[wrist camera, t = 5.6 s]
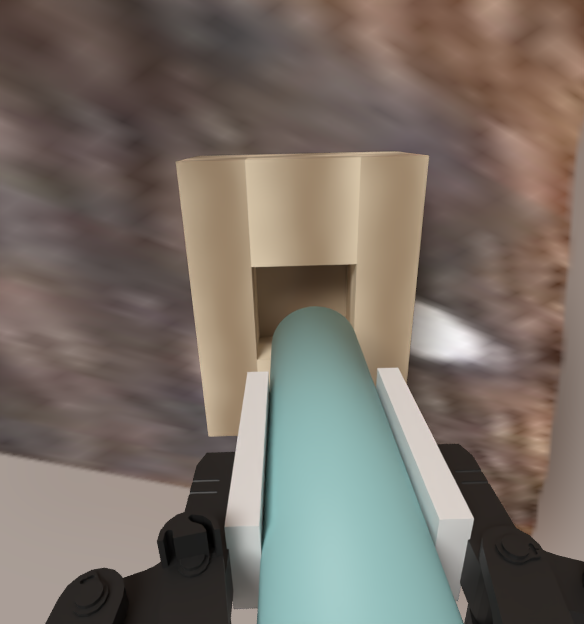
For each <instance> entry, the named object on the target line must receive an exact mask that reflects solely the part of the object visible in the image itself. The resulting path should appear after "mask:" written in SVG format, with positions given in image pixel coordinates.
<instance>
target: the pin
mask: <svg viewBox="0 0 584 624" xmlns="http://www.w3.org/2000/svg"><path fill="white" fill-rule="evenodd" d="M269 393H270V394H269V414H268V434H267V454H266V473H265V493H264V513H263V533H262V553H261V560H260V576H259V595H258V614H257V624H464V623H463V620H462V618H461V615H460V612H459V610H458V607H457V604H456V602H455V599H454V596H453V594H452V591H451V588H450V586H449V583H448V580H447V578H446V575H445V572H444V570H443V567H442V564H441V561H440V559H439V556H438V553H437V551H436V548H435V545H434V543H433V540H432V537H431V535H430V532H429V529H428V527H427V524H426V521H425V519H424V516H423V513H422V511H421V508H420V505H419V503H418V500H417V497H416V494H415V492H414V489H413V486H412V484H411V481H410V478H409V476H408V473H407V470H406V468H405V465H404V462H403V460H402V457H401V454H400V452H399V449H398V446H397V444H396V441H395V438H394V436H393V433H392V430H391V428H390V425H389V422H388V419H387V417H386V414H385V411H384V409H383V406H382V403H381V401H380V398H379V395H378V393H377V390H376V387H375V385H374V382H373V379H372V377H371V374H370V371H369V369H368V366H367V363H366V361H365V358H364V355H363V352H362V350H361V347H360V344H359V342H358V339H357V336H356V334H355V331H354V329H353V327H352V325H351V324H350V322H349V321H348V320H347V319H346V318H345V317H344V316H343V315H341V314H340V313H338V312H337V311H334V310H332V309H329V308H326V307H318V306H313V307H306V308H302V309H299V310H296V311H294V312H292V313H291V314H289V315H288V316H286V317H285V318H284V319H283V320H282V321H281V322H280V323H279V325H278V326H277V328H276V330H275V332H274V335H273V338H272V347H271V366H270V385H269Z"/></svg>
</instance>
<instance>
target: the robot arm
mask: <svg viewBox="0 0 584 624" xmlns="http://www.w3.org/2000/svg"><path fill="white" fill-rule="evenodd" d="M376 390H377V393H378V395H379V398H380V401H381V403H382V406H383V409H384V411H385V414H386V417H387V419H388V422H389V425H390V428H391V430H392V433H393V436H394V438H395V441H396V444H397V446H398V449H399V452H400V454H401V457H402V460H403V462H404V465H405V468H406V470H407V473H408V476H409V478H410V481H411V484H412V486H413V489H414V492H415V494H416V497H417V500H418V503H419V505H420V508H421V511H422V513H423V516H424V519H425V521H426V524H427V527H428V529H429V532H430V535H431V537H432V540H433V543H434V545H435V548H436V551H437V553H438V556H439V559H440V561H441V564H442V567H443V570H444V572H445V575H446V578H447V580H448V583H449V586H450V588H451V591H452V594H453V596H454V599H455V601H458V598H459V593H460V588H461V586H462V589H463V591H464V594H465V596H466V599H467V602H468V608H467V613H466V618H465V623H464V624H584V562H583V561H579V560H574V559H571V558H566V557H562V556H558V555H555V554H552V553H549V552H546V551H544V550H543V549H542V548H541V546H540V545H539V544H538V543H537V542H536V541H535V540H534V539H533V538H532V537H531V536H530V535H528V534H526V533H524V532H522V531H520V530H519V529H517V528H516V527H515V526H514V524H513V522H512V521H511V519H510V517H509V516H508V514H507V512H506V511H505V509H504V507H503V506H502V504H501V502H500V501H499V499H498V497H497V496H496V494H495V492H494V491H493V489H492V487H491V486H490V484H488V481H487V479H486V477H485V476H484V474H483V472H481V469H480V467H479V465H478V464H477V462H476V460H475V459H474V457H473V456H472V455H471V454H470V453H469V452H468V451H467V450H465V449H464V448H463V447H462V446H461V445H459V444H439V445H437V444H436V442H435V440H434V438H433V436H432V434H431V432H430V430H429V428H428V426H427V424H426V422H425V420H424V418H423V416H422V414H421V412H420V410H419V408H418V406H417V404H416V402H415V400H414V398H413V396H412V394H411V392H410V390H409V388H408V386H407V384H406V382H405V380H404V378H403V376H402V374H401V372H400V370H399V368H377V381H376ZM269 394H270V393H269V372H268V371H265V372H247V379H246V385H245V392H244V399H243V405H242V412H241V419H240V425H239V432H238V439H237V446H236V452H218V453H206V455H205V456H204V457H203V458H202V460H201V461H200V462H199V463H198V465H197V466H196V470H195V474H194V478H193V483H192V486H191V489H190V495H189V497H188V501H187V505H186V508H185V512H183V513H181V514H178V515H176V516H175V517H173V518H172V519H170V520H169V521H168V522H167V523H166V524H165V525H164V527H163V528H162V529H161V531H160V533H159V536H158V540H157V544H158V549H159V554H160V558H161V562H160V563H158V564H157V565H155V566H154V567H152V568H149V569H147V570H145V571H142V572H139V573H136V574H133V575H130V576H127V577H124V578H122V576H121V575H120V574H119V573H118V572H116V571H115V570H113V569H108V568H100V569H94V570H91V571H89V572H87V573H85V574H83V575H80V576H79V577H78V578H76V579H75V580H74V581H73V582H72V583H70V584H69V585H68V586H67V587H66V589H65V590H64V592H63V593H62V594H61V596H60V597H59V599H58V601H57V602H56V604H55V606H54V608H53V610H52V612H51V614H50V616H49V618H48V620H47V622H46V624H231V609H232V601H233V608H234V609H249V608H258V595H259V576H260V560H261V553H262V533H263V513H264V493H265V473H266V454H267V434H268V414H269Z"/></svg>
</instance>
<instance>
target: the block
mask: <svg viewBox="0 0 584 624" xmlns="http://www.w3.org/2000/svg"><path fill="white" fill-rule="evenodd" d="M428 160H429V156H427V155H420V154H412V153H405V152H397V151H392V152H350V153H307V154H264V155H221V156H196V157H192V158H188V159H184V160H180V161H176V168H177V176H178V185H179V193H180V201H181V210H182V218H183V226H184V235H185V243H186V251H187V260H188V268H189V277H190V285H191V293H192V302H193V310H194V318H195V327H196V335H197V343H198V352H199V360H200V368H201V377H202V385H203V393H204V402H205V410H206V418H207V427H208V435H209V436H237V435H238V432H239V425H240V419H241V412H242V405H243V399H244V392H245V385H246V379H247V372H265V371H268V372H269V385H270V366H271V347H272V338H273V335H274V332H275V330H276V328H277V326H278V325H279V323H280V322H281V321H282V320H283V319H284V318H285V317H286V316H288V315H289V314H291V313H292V312H294V311H296V310H299V309H302V308H306V307H313V306H318V307H326V308H329V309H332V310H334V311H337V312H338V313H340V314H341V315H343V316H344V317H345V318H346V319H347V320H348V321H349V322H350V324H351V325H352V327H353V329H354V331H355V334H356V336H357V339H358V342H359V344H360V347H361V350H362V352H363V355H364V358H365V361H366V363H367V366H368V369H369V371H370V374H371V377H372V379H373V382H374V385H375V387H376V381H377V368H399V370H400V372H401V374H402V376H403V378H404V380H405V382H406V384H407V374H408V364H409V354H410V344H411V334H412V323H413V313H414V303H415V293H416V283H417V272H418V262H419V252H420V242H421V231H422V221H423V211H424V201H425V191H426V180H427V170H428Z"/></svg>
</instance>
